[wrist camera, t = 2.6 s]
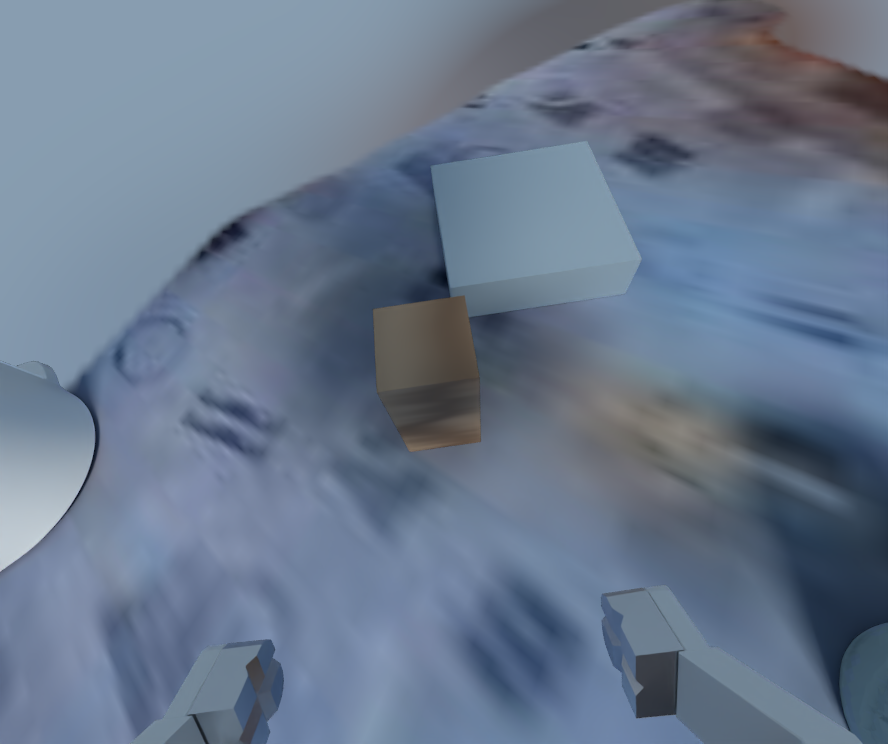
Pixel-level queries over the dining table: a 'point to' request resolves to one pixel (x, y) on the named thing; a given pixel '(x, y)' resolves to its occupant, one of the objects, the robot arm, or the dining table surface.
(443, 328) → the walnut block
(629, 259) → the slate base
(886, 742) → the embossed ceramic cup
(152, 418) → the dining table surface
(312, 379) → the dining table surface
